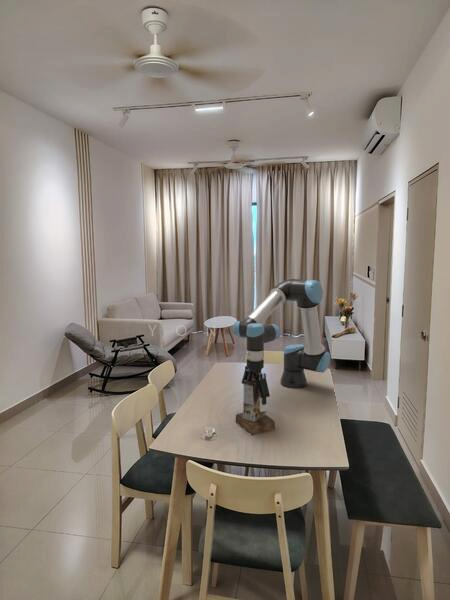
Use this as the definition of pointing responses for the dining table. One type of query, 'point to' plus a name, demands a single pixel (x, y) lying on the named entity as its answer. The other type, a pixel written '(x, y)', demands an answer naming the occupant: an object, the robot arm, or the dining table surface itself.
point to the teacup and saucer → (209, 431)
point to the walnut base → (255, 424)
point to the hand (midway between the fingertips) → (254, 405)
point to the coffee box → (252, 402)
